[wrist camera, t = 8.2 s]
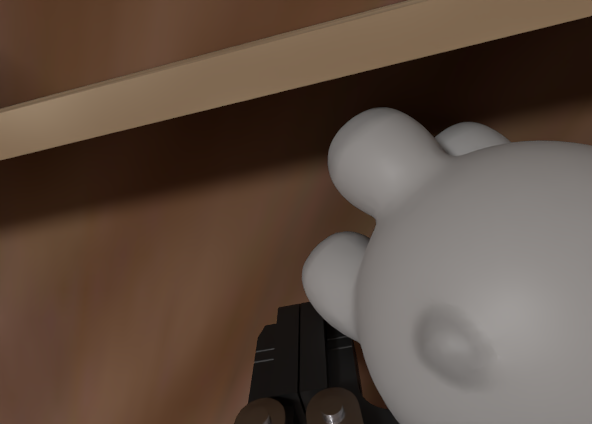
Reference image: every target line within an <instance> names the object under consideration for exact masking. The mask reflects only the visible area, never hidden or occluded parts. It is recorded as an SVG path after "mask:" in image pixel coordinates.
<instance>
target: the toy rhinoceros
mask: <svg viewBox="0 0 592 424" xmlns="http://www.w3.org/2000/svg"><path fill="white" fill-rule="evenodd" d="M328 169H329V173H330V176H331V179H332V181H333V183H334V185H335V187H336V188H337V189H338V191H339V192H340V193H341V194H342V195H343V196H344V197H345V199H347V200H348V201H349V202H350V203H351V204H352V205H354V206H355V207H357V208H358V209H360V210H362V211H363V212H365V213H367V214H369V215H371V216H372V217H374V218H375V219H376V227H375V229H374V232H373V234H372V236H371V238H368V237H367V236H365V235H362V234H359V233H356V232H349V231H346V232H339V233H335V234H333V235H331V236H329V237H328V238H326V239H325V240H323V241H322V242H321V243H320V244H318V245H317V247H316V248H315V249H314V250H313V251H312V252H311V254H310V255H309V256H308V258H307V260H306V261H305V264H304V266H303V271H302V282H303V287H304V290H305V292H306V295H307V297H308V299H309V301H310V302H311V304H312V305H313V307H314V308H315V310H316V311H317V312H318V313H319V314H320V315H321V316H322V317H323V319H324V320H326V321H327V322H328V323H329V324H330V325H331V326H332V327H334V328H335V329H337V330H338V331H340V332H341V333H343V334H344V335H346V336H348V337H350V338H351V339H353V340H355V341H357V342H359V343H360V344H361V348H362V351H363V355H364V358H365V361H366V364H367V367H368V370H369V372H370V375H371V377H372V380H373V382H374V384H375V386H376V388H377V390H378V391H379V393H380V395H381V397H382V399H383V400H384V402H385V404H386V405H387V407H388V409H389V410H390V411H391V413H392V414H393V416H394V417H395V419H396V420H397V421H398V422H399V423H400V424H592V146H590V145H585V144H578V143H571V142H561V141H523V142H512V143H511V142H510V141H509V140H508V139H507V138H505V137H504V136H503V135H501V134H500V133H498V132H497V131H495V130H493V129H492V128H490V127H488V126H485V125H483V124H480V123H476V122H461V123H458V124H455V125H453V126H450V127H449V128H447V129H445V130H444V131H442V132H441V133H439V134H438V135H437V136H436V137H435V138H434V137H433V136H432V135H431V134H430V132H429V131H428V130H427V129H426V128H425V127H423V126H422V125H421V124H420V123H419V122H417V121H416V120H415V119H413V118H412V117H410V116H409V115H407V114H405V113H403V112H401V111H398V110H396V109H393V108H387V107H378V108H372V109H369V110H366V111H364V112H362V113H360V114H358V115H356V116H355V117H353V118H352V119H351V120H349V121H348V122H347V123H346V124H345V125H344V126H343V127H342V128H341V129H340V130H339V131H338V132H337V134H336V135H335V137H334V138H333V140H332V142H331V145H330V148H329V152H328Z"/></svg>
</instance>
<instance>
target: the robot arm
mask: <svg viewBox="0 0 592 424" xmlns="http://www.w3.org/2000/svg"><path fill="white" fill-rule="evenodd" d="M254 362H255V364H254V367H253V374H252V381H251V387H250V394H249V401H248V404H247V405H246V406H245V407H244V408H243V409H242V410H241V411H240V412H239V414H238V415H237V417H236V420H235V423H234V424H400V423H399V422H398V421H397V420H396V419H395V417H394V416H393V414H392V413H391V411H390V410H389V409H383V408H379V407H376V406H374V405H372V404H370V403H369V402H368V401H366V400H365V399H364V398H363V395H362V388H361V382H360V375H359V369H358V362H357V356H356V352H355V347H354V343H353V339H351V338H350V337H348V336H346V335H344V334H343V333H341V332H340V331H338V330H337V329H335V328H334V327H332V326H331V325H330V324H329V323H328V322H327V321H326V320H324V319H323V317H322V316H321V315H320V314H319V313H318V312H317V311H316V310H315V308H314V307H313V305H312V304H311V302H306V303H301V304H295V305H290V306H284V307H279V308H278V315H277V324H272V325H266V326H265V327H264V329H263V330H262V332H261V334H260V335H259V337H258V340H257V347H256V354H255V360H254Z"/></svg>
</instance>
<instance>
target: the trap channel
mask: <svg viewBox="0 0 592 424" xmlns="http://www.w3.org/2000/svg"><path fill="white" fill-rule="evenodd" d="M589 16H592V0H408V1H404V2H400V3H396V4H393V5H389V6H385V7H381V8H377V9H374V10H370V11H366V12H362V13H359V14H355V15H351V16H347V17H344V18H340V19H336V20H332V21H328V22H325V23H321V24H317V25H313V26H310V27H306V28H302V29H298V30H294V31H291V32H287V33H283V34H279V35H276V36H272V37H268V38H264V39H261V40H257V41H253V42H249V43H245V44H242V45H238V46H234V47H230V48H227V49H223V50H219V51H215V52H212V53H208V54H204V55H200V56H196V57H193V58H189V59H185V60H181V61H178V62H174V63H170V64H166V65H163V66H159V67H155V68H151V69H147V70H144V71H140V72H136V73H132V74H129V75H125V76H121V77H117V78H114V79H110V80H106V81H102V82H98V83H95V84H91V85H87V86H83V87H80V88H76V89H72V90H68V91H65V92H61V93H57V94H53V95H49V96H46V97H42V98H38V99H34V100H31V101H27V102H23V103H19V104H15V105H12V106H8V107H4V108H0V160H4V159H8V158H12V157H16V156H20V155H24V154H28V153H33V152H37V151H41V150H45V149H49V148H53V147H57V146H61V145H65V144H69V143H73V142H78V141H82V140H86V139H90V138H94V137H98V136H102V135H106V134H110V133H114V132H119V131H123V130H127V129H131V128H135V127H139V126H143V125H147V124H151V123H155V122H159V121H164V120H168V119H172V118H176V117H180V116H184V115H188V114H192V113H196V112H200V111H205V110H209V109H213V108H217V107H221V106H225V105H229V104H233V103H237V102H241V101H245V100H250V99H254V98H258V97H262V96H266V95H270V94H274V93H278V92H282V91H286V90H290V89H295V88H299V87H303V86H307V85H311V84H315V83H319V82H323V81H327V80H331V79H336V78H340V77H344V76H348V75H352V74H356V73H360V72H364V71H368V70H372V69H376V68H381V67H385V66H389V65H393V64H397V63H401V62H405V61H409V60H413V59H417V58H422V57H426V56H430V55H434V54H438V53H442V52H446V51H450V50H454V49H458V48H462V47H467V46H471V45H475V44H479V43H483V42H487V41H491V40H495V39H499V38H503V37H508V36H512V35H516V34H520V33H524V32H528V31H532V30H536V29H540V28H544V27H548V26H553V25H557V24H561V23H565V22H569V21H573V20H577V19H581V18H585V17H589Z"/></svg>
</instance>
